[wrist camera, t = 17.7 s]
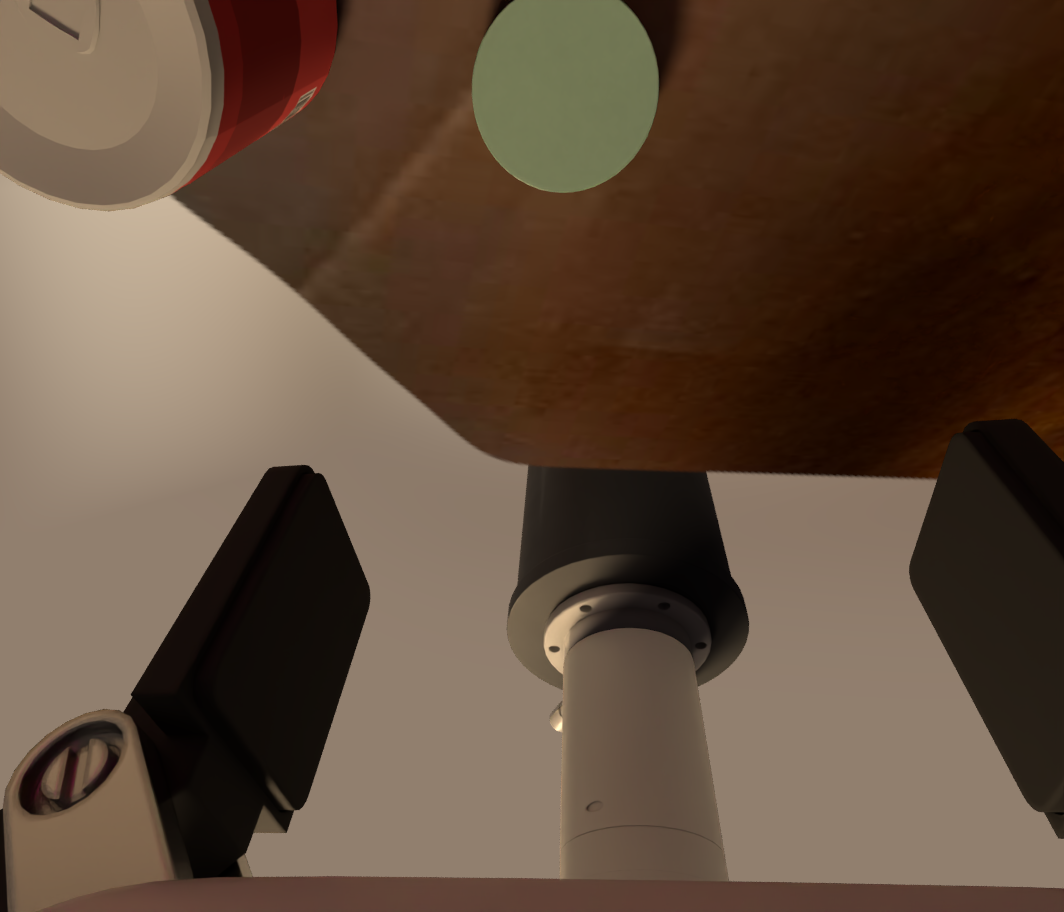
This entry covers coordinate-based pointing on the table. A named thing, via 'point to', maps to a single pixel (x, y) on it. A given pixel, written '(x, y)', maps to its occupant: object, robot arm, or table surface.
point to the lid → (565, 91)
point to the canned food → (149, 89)
